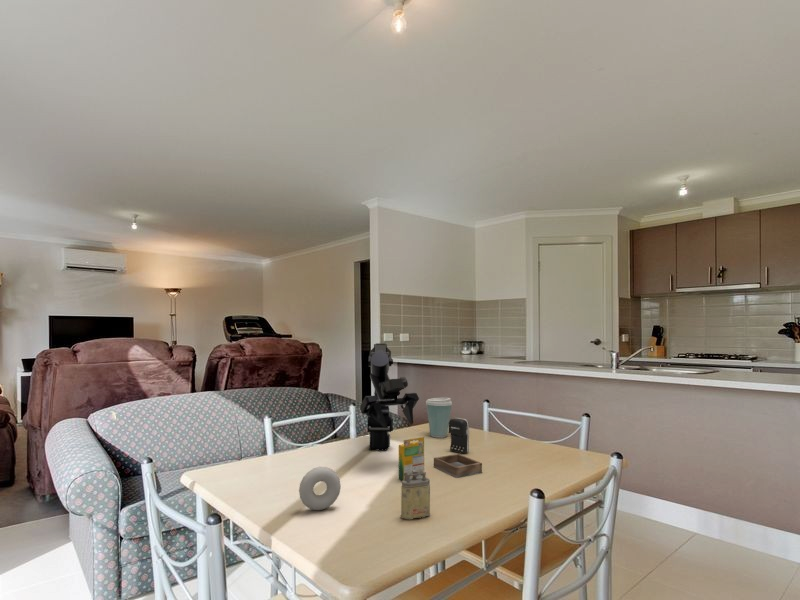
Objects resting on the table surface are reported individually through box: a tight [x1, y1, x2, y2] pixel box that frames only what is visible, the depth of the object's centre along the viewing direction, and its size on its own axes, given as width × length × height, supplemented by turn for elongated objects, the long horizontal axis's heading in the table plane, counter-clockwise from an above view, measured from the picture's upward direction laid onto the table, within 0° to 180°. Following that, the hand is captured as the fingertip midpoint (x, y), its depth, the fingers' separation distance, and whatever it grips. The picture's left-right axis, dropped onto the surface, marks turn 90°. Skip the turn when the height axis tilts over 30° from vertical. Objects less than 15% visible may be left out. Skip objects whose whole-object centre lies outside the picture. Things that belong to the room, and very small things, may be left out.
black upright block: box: [448, 417, 470, 454], centre depth 161 cm, size 7×4×11 cm, turn 47°
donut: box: [298, 466, 342, 511], centre depth 110 cm, size 10×4×10 cm, turn 113°
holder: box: [433, 453, 483, 479], centre depth 141 cm, size 10×12×3 cm
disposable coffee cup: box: [425, 397, 453, 439], centre depth 184 cm, size 11×11×15 cm
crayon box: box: [398, 436, 425, 482], centre depth 133 cm, size 7×3×12 cm, turn 123°
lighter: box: [400, 470, 431, 520], centre depth 107 cm, size 7×4×10 cm, turn 112°
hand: (399, 425), depth 140 cm, fingers open, 9 cm apart
